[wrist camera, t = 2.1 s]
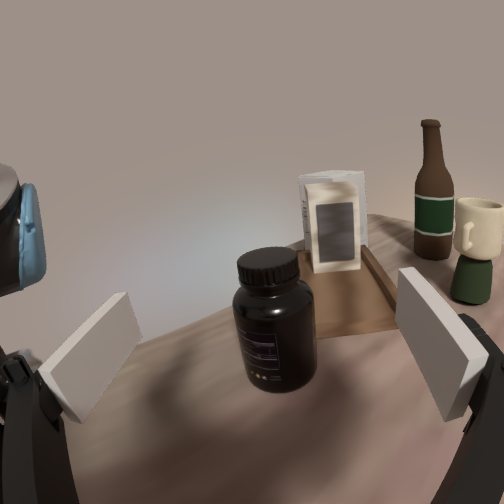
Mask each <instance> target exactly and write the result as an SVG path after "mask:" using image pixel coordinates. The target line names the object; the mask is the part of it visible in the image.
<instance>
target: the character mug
mask: <svg viewBox="0 0 504 504" xmlns="http://www.w3.org/2000/svg"><path fill="white" fill-rule="evenodd" d="M455 221H456V228H455V234H454V239H453V244H454V247H455V249H456V250H457V251H458V252H459V253H460V257H459V259H458V262H457V266H456V269H455V273H454V277H453V281H452V285H451V289H450V294H451V295H452V296H453V298H455V299H458V300H461V301H465V302H468V303H474V304H482V303H486V302H487V301H488V300H489V299H490V293H491V285H492V268H493V266H492V261H491V259H495V258H497V257H499V255H500V251H501V246H502V237H503V228H504V205H503V204H501V203H499V202H496V201H492V200H488V199H482V198H458V199H456V204H455Z"/></svg>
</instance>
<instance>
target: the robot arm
mask: <svg viewBox="0 0 504 504" xmlns="http://www.w3.org/2000/svg"><path fill="white" fill-rule="evenodd" d="M45 273H46V253H45V245H44V236H43V229H42V222H41V215H40V209H39V202H38V197H37V192H36V189H35V186H34V185H33V184H27V183H25V184H23V185H22V186H20V184H19V181H18V178H17V174H16V172H15V171H14V169H13V168H12V167H9V166H7V165H4V164H1V163H0V297H2V296H5V295H8V294H11V293H14V292H16V291H21V290H23V289H24V288H25V287H28V286H30V285H32V284H34V283H37V282H39V281H40V280H41V279H42V278H43V276H44V275H45ZM395 322H396V324H397V326H398V327H399V329H400V331H401V333H402V335H403V337H404V339H405V340H406V342H407V344H408V346H409V348H410V350H411V352H412V354H413V356H414V358H415V360H416V362H417V364H418V366H419V368H420V370H421V372H422V374H423V376H424V378H425V380H426V382H427V384H428V387H429V389H430V391H431V393H432V395H433V397H434V400H435V402H436V404H437V406H438V408H439V411H440V413H441V415H442V418H443V420H444V422H447V421H450V420H453V419H456V418H459V417H462V416H463V415H464V413H465V411H466V409H467V407H468V405H469V406H470V408H471V410H472V412H473V413H472V415H471V417H470V419H469V421H468V422H467V424H466V426H465V428H464V430H463V432H464V435H463V437H462V440H461V442H460V445H459V447H458V450H457V452H456V454H455V457H454V459H453V461H452V463H451V465H450V467H449V469H448V472H447V474H446V476H445V478H444V480H443V481H442V483H441V485H440V487H439V489H438V491H437V493H436V495H435V496H434V498H433V500H432V502H431V503H430V504H499V502H500V500H501V497H502V494H503V492H504V354H503V353H502V352H501V350H500V349H499V348H498V347H497V345H496V344H495V343H494V342H493V341H492V339H491V338H490V337H489V336H488V335H487V334H486V332H485V331H484V330H483V329H482V328H481V327H480V325H479V324H478V323H477V322H476V321H475V320H474V319H473V318H471V317H470V316H468V315H466V314H464V313H463V314H458V315H457V314H456V313H455V312H454V311H453V309H452V308H451V307H450V306H449V305H448V304H447V303H446V301H445V300H444V299H443V298H442V297H441V296H440V295H439V294H438V293H437V291H436V290H435V289H434V288H433V287H432V286H431V285H430V284H429V283H428V282H427V281H426V280H425V278H424V277H423V276H422V275H421V274H420V273H419V272H418V271H417V270H416V269H415V268H414V267H409V268H401V269H399V273H398V290H397V303H396V314H395ZM141 339H142V334H141V332H140V329H139V326H138V323H137V320H136V318H135V315H134V312H133V309H132V306H131V303H130V300H129V296H128V293H127V292H122V293H121V292H120V293H115V294H114V295H112V296H111V297H110V298H109V299H108V300H107V301H106V302H105V303H104V304H103V305H102V306H101V307H100V308H99V309H98V310H97V311H95V312H94V313H93V314H92V315H91V316H90V317H89V318H88V319H87V320H86V321H85V322H84V323H83V324H82V325H81V326H80V327H79V328H78V329H77V330H76V331H75V332H74V333H73V334H72V335H71V336H70V337H69V338H68V339H67V340H66V341H65V342H64V343H63V344H62V345H61V346H60V347H59V348H58V349H57V350H56V351H55V352H54V353H53V354H52V355H51V356H50V357H49V358H48V359H47V360H46V361H45V362H44V363H43V364H42V365H41V366H40V367H39V369H38V370H37V371H36V372H35V373H34V374H33V372H32V371H31V369H30V367H29V365H28V364H27V362H26V360H25V358H24V357H23V356H21V355H17V356H13V357H11V358H9V359H8V358H7V357H6V355H5V353H4V351H3V349H2V348H1V346H0V416H1V417H2V419H3V420H4V421H5V423H4V425H2V424H1V423H0V504H79V500H78V496H77V492H76V488H75V484H74V480H73V475H72V471H71V466H70V460H69V455H68V449H67V443H66V436H65V429H64V422H63V419H62V417H61V416H60V414H61V413H62V411H64V412H65V414H66V415H67V417H68V418H69V419H70V420H71V421H74V422H77V423H81V424H83V423H84V422H85V420H86V419H87V417H88V416H89V414H90V413H91V411H92V410H93V408H94V407H95V405H96V404H97V402H98V401H99V399H100V398H101V396H102V395H103V393H104V392H105V390H106V389H107V387H108V386H109V384H110V383H111V381H112V380H113V379H114V377H115V376H116V374H117V373H118V371H119V370H120V368H121V367H122V366H123V364H124V363H125V361H126V360H127V358H128V357H129V356H130V354H131V353H132V351H133V350H134V348H135V347H136V346H137V344H138V342H139V341H140V340H141ZM6 379H7V380H8V382H9V383H5V380H6Z"/></svg>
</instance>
